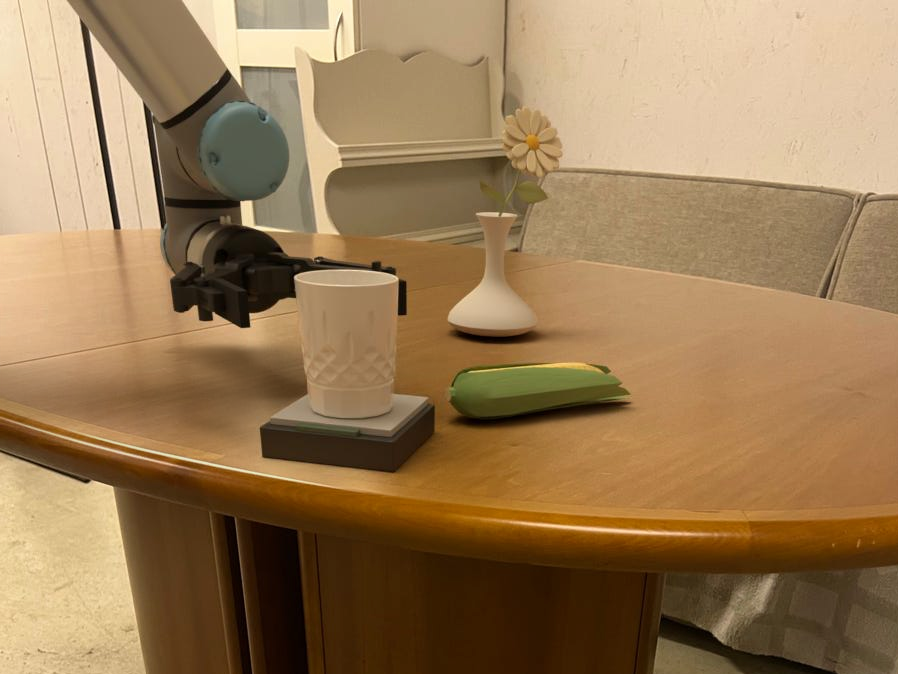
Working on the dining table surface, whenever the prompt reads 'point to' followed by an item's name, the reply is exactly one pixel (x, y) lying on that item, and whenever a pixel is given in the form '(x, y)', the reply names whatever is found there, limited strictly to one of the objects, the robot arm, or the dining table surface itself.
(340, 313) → the white cup
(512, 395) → the edible corn
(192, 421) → the dining table surface
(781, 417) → the dining table surface
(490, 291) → the flower in vase
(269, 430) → the scale
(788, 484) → the dining table surface
